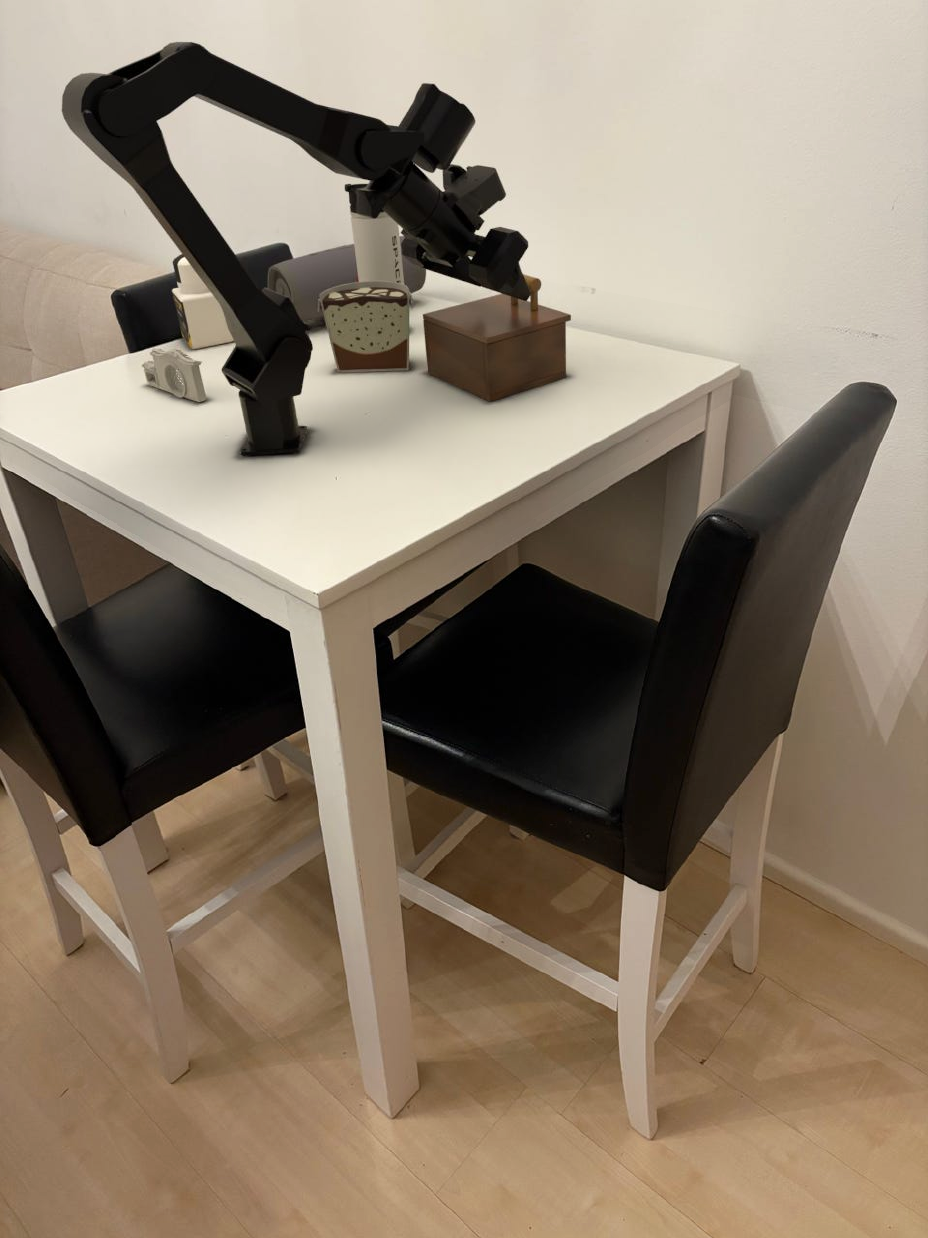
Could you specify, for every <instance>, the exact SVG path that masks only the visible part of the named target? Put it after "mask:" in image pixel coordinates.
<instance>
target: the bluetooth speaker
mask: <svg viewBox="0 0 928 1238" xmlns="http://www.w3.org/2000/svg"><path fill="white" fill-rule="evenodd" d="M399 236H400V246H401V243H402V241H403V240H404V238H405V237H404V236H403V235H399ZM401 256H402V266H403V276H404V285H406V286H407V287H408V289H409V291H410V292H411V294H413V293H416V292H418V291H420V290H421V289H422V288H423V287H424V285H425V284H426V279H427V269H423V268H421V267H420V266H417V265H414V264H412V263H411V262H410V261H408V260H407V259H406V258H405V257H404V256H403V255H402V248H401ZM267 270H268V271H267V289H270V290H272V291H274V292H277V293H279V294H281V295H284V296H286V297H288V298H289V299H290V300H291V302H292V303H293V305H294V307H295V309H296V311H297V314H298V315H299V317H300V319H301V320H302V321H303V322H304V323H305V322H312V321H317V320H320V322H322V323H323V324H326V322H325V318H324V314H323V310H322V309H321V310H320V311H319V312H318V300H319V299H320V296H319V295H320V294H321V293H322V292H324V291H325V290H328V289H330V288H333V287H336V286H339V285H344V284H349V283H355V282H359V279H358V271H357V263H356V255H355V247H354V243H351V244H344V245H340V246H336V247H334V248H328V249H325V250H319V251H315V252H312V253H309V254H305V255H302V256H298V257H294V258H291V259H287V260H284V261H281V262H279V263H276V264H273V265H271V266H270V267H268V269H267Z"/></svg>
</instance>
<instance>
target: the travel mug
mask: <svg viewBox="0 0 928 1238" xmlns="http://www.w3.org/2000/svg"><path fill="white" fill-rule="evenodd" d="M367 185H368V183H346V184H344V191H345V192H346V193H348V199H349V200H348V202H349V213H350V216H351V217H350V222H351V230H352V237H353V244H354V247H355V255H356V263H357V271H358V279H359V282H363V281H391V282H397V283H401V284H404V276H403V266H402V256H401V246H400V236H401V235H400V226H399V225H398V224H397V223H396V222H395V221H394V220H393V219H392V218H391V217H390V216H389V215H388V214H387V213H385V212H384V211H383V210H381V212H380V214H379V215H378V217H377V218H376V219H373V218H369V217H366V216H362V215H359V214H357V195H356V190H357V189H362V188H365V187H366V186H367Z"/></svg>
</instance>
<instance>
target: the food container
mask: <svg viewBox="0 0 928 1238" xmlns="http://www.w3.org/2000/svg"><path fill="white" fill-rule="evenodd" d="M319 296H320V299H319V300H318V312H319V311H320V310H321V309H322V310H323V314H324V318H325V322H326V323H325V326H326V330H327V334H328V338H329V342H330V346H331V350H332V351H331V352H332V354H333V358H334V362H335V366H336V371H337V373H366V372H367V373H368V372H369V373H370V372H397V371H398V372H400V371H409V370H410V303H411V306H412V309H414V308H415V301H414V298H413V295H412V293H411V292H410V291H409V289H408V287H407V286H406V285H404V284H401V283H397V282H391V281H363V282H355V283H349V284H344V285H339V286H336V287H333V288H330V289H328V290H325V291H324V292H322V293H321V294H320V295H319Z"/></svg>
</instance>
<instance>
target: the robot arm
mask: <svg viewBox="0 0 928 1238" xmlns="http://www.w3.org/2000/svg"><path fill="white" fill-rule="evenodd" d="M193 97H194V98H197V99H199V100H201V101H204V102H205V103H207V104H210V105H212V106H215V107H217V108H219V109H220V110H223V111H226V112H228V113H230V114H232V115H234V116H236V117H239V118H241V119H243V120H246V121H247V122H251V123H253V124H254V125H257V126H259V127H262V128H264V129H266V130H269V131H270V132H273V133H275V134H277V135H280V136H282V137H284V138H287V139H288V140H290V141H292V142H293V143H295V144H296V145H298V146H299V148H301V149H302V150H304V151H305V152H306V153H307V155H309V156H310V157H311V158H313V159H314V160H315V161H317V162H318V163H319V164H320V165H323V166H324V167H326V168H327V169H328V170H330V171H331V172H333V173H335V174H338V175H342V176H346V177H351V178H356V179H360V180H365V181H369V182H368V183H367V184H368V185H367V186H366V187H365V188H362V189H357V190H356V195H357V214H359V215H362V216H366V217H369V218H373V219H376V218H377V217H378V215H379V214H380V212H381V210H383V211H384V212H385V213H387V214H388V215H389V216H390V217H391V218H392V219H393V220H394V221H395V222H396V223H397V224H398V226H399V227H400V228H401V231H400V234H401V236H404V237H405V238H404V240H403V241H402V243H401V248H402V255H403V256H404V257H405V258H406V259H407V260H408V261H410V262H411V263H412V264H414V265H417V266H420V267H421V268H423V269H426V271H430V272H433V273H436V274H439V275H443V276H446V277H449V278H451V279H454V280H457V281H461V282H464V283H467V284H470V285H474V286H476V287H479V288H480V287H482V288H485V289H487V290H489V291H493V292H497V293H498V294H505V295H508V296H511V297H514V298H517V299H520V300H523V301H529V299H530V295H531V292H530V290H529V287H528V285H527V283H526V280H525V278H524V276H523V274H524V273H523V271H522V268H521V265H520V261H521V260H522V259H523V257H524V255H525V253H526V251H527V250H528V249H529V241H528V240H527V238H526V237H525V236H524V235H522V233H521V232H520V231H519V230H516V229H511V228H508V227H502V226H496V227H491V228H489V230H488V232H487V233H486V235H485V236H483V235H480V234H476V232H477V231H480V229H481V228H482V227H483V225H484V223H485V219H484V218H483V217H481V216H482V215H484V214H485V213H486V212H487V211H488V210H490V209H491V208H492V207H494V205H495V204H496V203H498V202H502V201H503V200H505V198H506V196H507V193H506V190H505V188H504V185H503V183H502V181H501V177H500V176H499V173H498V171H497V168H496V167H493V166H486V165H482V164H481V165H480V164H479V165H478V164H477V165H473V166H472V165H471V166H470V165H468V166H466V167H465V168H464V167H462V166H461V165H459V164H453V163H452V162H453V161H454V159H455V157H456V156H457V154H458V152H459V151H460V150H461V147H462V146H463V144H464V143H465V141H466V139H467V138H468V137H469V134H470V133H471V131H472V130H473V128H474V126H475V125H476V118H475V116H474V115H473V113H472V111H471V110H470V109H469V108H468V106H466V105H465V104H464V103H462V102H459V101H458V100H457V99H456V98H454V97H453V96H452V95H450V94H449V93H447V92H444V91H442V90H440V89H439V87H438V86H437V85H436V84H435V83H430V82H429V83H428V82H422V83H421V85H420V86H419V88H418V89H417V91H416V94H415V95H414V99H413V101H412V103H411V105H410V106H409V108H408V109H407V112H406V113H405V115H404V116H403V118H402V119H401V121H400V123H399V124H398V125H392V124H387V123H385V122H384V121H383V120H381V119H379V118H377V117H373V116H369V115H365V114H361V113H357V112H353V111H349V110H344V109H341V108H335V107H330V106H326V105H323V104H318V103H315V102H313V101H311V100H309V99H307V98H306V97H303V96H302V95H299V94H296V93H294V92H292V91H290V90H288V89H286V88H284V87H282V86H280V85H278V84H276V83H274V82H272V81H270V80H268V79H266V78H263V77H261V76H259V75H258V74H255V73H253V72H251V71H250V70H249V71H248V70H247V69H244V68H243V67H241V66H238V65H237V64H235V63H232V62H230V61H229V60H226V59H224V58H222V57H220V56H218V55H215V54H214V53H212V52H210V51H209V50H208V49H207V48H205V46H203V45H202V44H201V43H197V42H192V41H174V42H169V43H168V44H166V45H165V46H163V48H162V49H160V50H157V51H155V52H154V53H152V54H150V55H148V56H145V57H142V58H140V59H138V60H135V61H133V62H130V63H129V64H125V65H124V66H121V67H119V68H116V69H114V70H113V71H110V72H108V73H99V72H85V73H80V74H78V75H76V76H74V77H73V78H71V79H70V81H69V82H68V83H67V84H66V86H65V87H64V90H63V93H62V96H61V113H62V116H63V119H64V121H65V123H66V126H67V127H68V128H69V130H70V131H71V132H72V134H74V135H75V136H76V137H77V139H79V140H80V141H81V142H82V143H83V144H84V145H85V146H86V147H87V149H89V150H91V152H92V153H93V154H94V155H95V156H96V157H98V158H99V159H100V160H101V161H102V162H103V163H104V164H105V165H107V166H108V167H109V169H111V170H113V172H115V173H116V174H117V175H118V176H119V177H121V178H122V179H123V180H124V181H125V182H126V183H127V184H129V186H130V187H132V189H133V190H134V191H135V193H136V194H137V195H138V197H139V198H140V199H141V201H142V202H143V204H144V205H145V206H146V207H147V209H148V210H149V211H150V213H151V214H152V215H153V216H154V218H155V219H156V221H157V222H158V224H159V225H160V226H161V227H162V229H163V230H164V231H165V233H166V234H167V235H168V237H169V238H170V239H171V241H172V243H173V244H174V245H175V246H176V248H177V249H178V250H179V252H180V253H181V254H183V256H184V257H185V258H186V260H187V261H188V262H189V264H190V265H191V266H192V268H193V269H194V270H195V272H196V273H197V274H198V276H199V277H200V278H201V280H202V281H203V282H204V284H205V285H206V286H207V288H208V289H209V290H210V292H211V293H212V294H213V296H214V297H215V298H216V300H217V301H218V302H219V304H220V306H221V308H222V310H223V313H224V316H225V320H226V323H227V326H228V329H229V331H230V333H231V335H232V337H233V339H234V341H233V342H234V343H235V346H234V347H233V348H232V351H231V352H230V354H229V356H228V357H227V358H226V361H225V362H224V364H223V366H222V367H221V373H222V374H223V377H224V378H225V379H226V381H227V383H228V384H229V385H230V386H232V387H234V388H236V389H237V390H239V391H238V398H239V403H240V408H241V413H242V416H243V422H244V423H243V424H244V428H245V432H246V438H245V440H244V441H243V444H242V446H241V447H240V450H239V453H240V455H241V456H256V455H257V456H258V455H275V454H278V455H279V454H293V453H295V454H296V453H299V452H300V451H301V448H302V446H303V443H304V442H305V438H306V436H307V433H308V430H309V429H308V426H307V425H299V421H298V416H297V411H296V405H295V399H294V397H297V396H301V395H302V391H303V385H304V380H305V379H304V378H305V373H306V369H307V368H308V366H309V364H310V361H311V358H312V352H313V350H314V346H313V342H312V340H311V338H310V336H309V334H308V333H307V332H310V331H311V330H312V327H311V326H309V325H308V324H307V323H305V322H303V321H302V320H301V319H300V317H299V315H298V314H297V311H296V309H295V307H294V305H293V303H292V302H291V300H290V299H289V298H288V297H286V296H284V295H281V294H279V293H277V292H274V291H272V290H270V289H268V287H263V288H262V289H260V287H259V286H258V285H257V283H256V282H255V280H254V279H253V277H251V275H250V273H249V272H248V270H247V269H246V267H245V266H244V265H243V263H242V262H241V260H240V259H239V258H238V256H237V255H236V254H235V252H234V250H233V249H232V248H231V247H230V245H229V243H228V242H227V241H226V239H225V238H224V237H223V235H222V234H221V232H220V230H219V229H218V227H217V226H216V224H214V222H213V221H212V219H211V218H210V216H209V215H208V214H207V212H206V211H205V209H204V208H203V206H202V205H201V203H200V202H199V201H198V199H197V197H196V196H195V195H194V194H193V192H192V191H191V189H190V188H189V186H188V185H187V184H186V182H185V181H184V179H183V178H182V176H181V175H180V174H179V172H178V171H177V169H176V168H175V166H174V164H173V162H172V159H171V156H170V153H169V150H168V146H167V144H166V141H165V138H164V137H165V136H164V134H163V133H164V132H163V131H162V129H161V127H160V125H159V122H158V121H159V120H161V119H163V118H166V117H167V116H168V115H170V114H171V113H173V112H174V111H175V110H177V109H178V108H179V107H181V106H182V105H184V103H187V101H188V100H190V99H191V98H193ZM421 169H422V170H421ZM436 170H440V171H442V188H443V190H444V191H442V190H441V189H440V188H439V186H437V185H436V184H435V183H434V182H433V181H432V180H431V179H430V178H429V177H428V176H427V175H426V173H424V172H423V171H425V172H427V173H429V174H434V173H435V172H436Z"/></svg>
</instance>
